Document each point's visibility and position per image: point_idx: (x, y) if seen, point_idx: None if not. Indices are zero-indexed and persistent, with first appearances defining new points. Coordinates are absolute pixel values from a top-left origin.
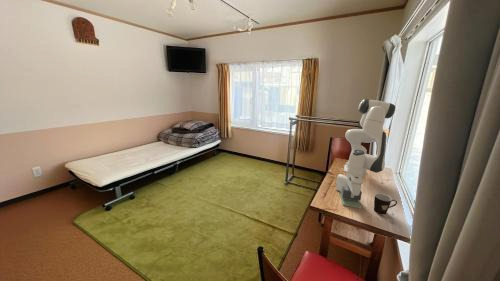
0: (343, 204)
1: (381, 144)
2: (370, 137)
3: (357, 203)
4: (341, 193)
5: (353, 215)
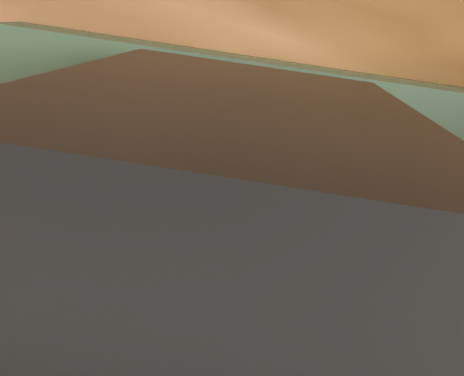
0: (4, 27)
1: None
2: None
3: None
4: (353, 86)
5: None
